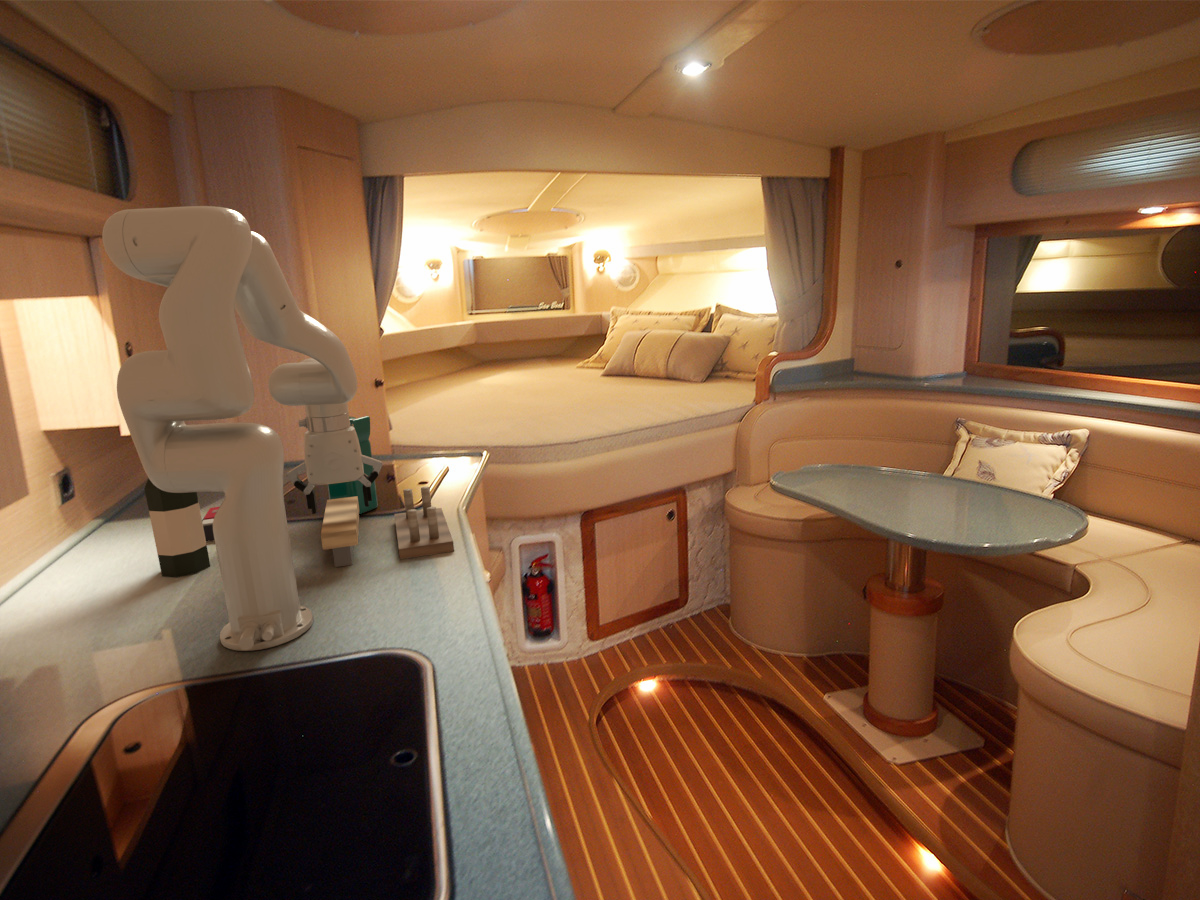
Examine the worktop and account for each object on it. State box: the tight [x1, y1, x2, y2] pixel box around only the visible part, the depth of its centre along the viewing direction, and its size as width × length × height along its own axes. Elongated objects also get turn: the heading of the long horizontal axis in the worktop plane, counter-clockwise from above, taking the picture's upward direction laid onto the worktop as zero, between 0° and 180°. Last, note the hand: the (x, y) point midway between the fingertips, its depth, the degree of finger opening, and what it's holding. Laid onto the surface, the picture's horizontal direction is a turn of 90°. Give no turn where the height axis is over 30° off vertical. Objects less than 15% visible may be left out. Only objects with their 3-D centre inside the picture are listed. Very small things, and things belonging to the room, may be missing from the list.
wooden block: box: [320, 496, 360, 551], centre depth 134 cm, size 22×6×3 cm, turn 18°
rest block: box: [332, 545, 354, 568], centre depth 134 cm, size 20×3×4 cm, turn 18°
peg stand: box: [393, 486, 455, 560], centre depth 138 cm, size 22×10×8 cm, turn 18°
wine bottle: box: [144, 477, 211, 578], centre depth 124 cm, size 8×8×30 cm
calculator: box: [202, 506, 220, 542], centre depth 149 cm, size 11×4×15 cm
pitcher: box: [327, 415, 379, 515], centre depth 155 cm, size 10×8×22 cm
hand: (341, 508), depth 134 cm, fingers open, 9 cm apart
